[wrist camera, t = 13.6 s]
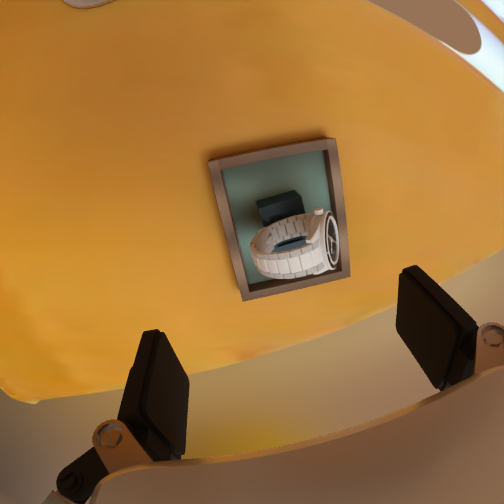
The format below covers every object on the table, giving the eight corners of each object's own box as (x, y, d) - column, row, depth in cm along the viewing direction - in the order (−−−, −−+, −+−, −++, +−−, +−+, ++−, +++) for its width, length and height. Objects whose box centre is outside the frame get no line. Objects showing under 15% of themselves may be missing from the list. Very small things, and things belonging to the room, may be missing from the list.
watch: (322, 231, 33) (360, 276, 23) (254, 251, 34) (265, 306, 24) (311, 184, 31) (350, 211, 21) (239, 205, 31) (244, 243, 21)
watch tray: (209, 159, 31) (207, 162, 28) (327, 137, 30) (335, 138, 28) (241, 289, 37) (242, 301, 34) (342, 266, 37) (350, 276, 34)
